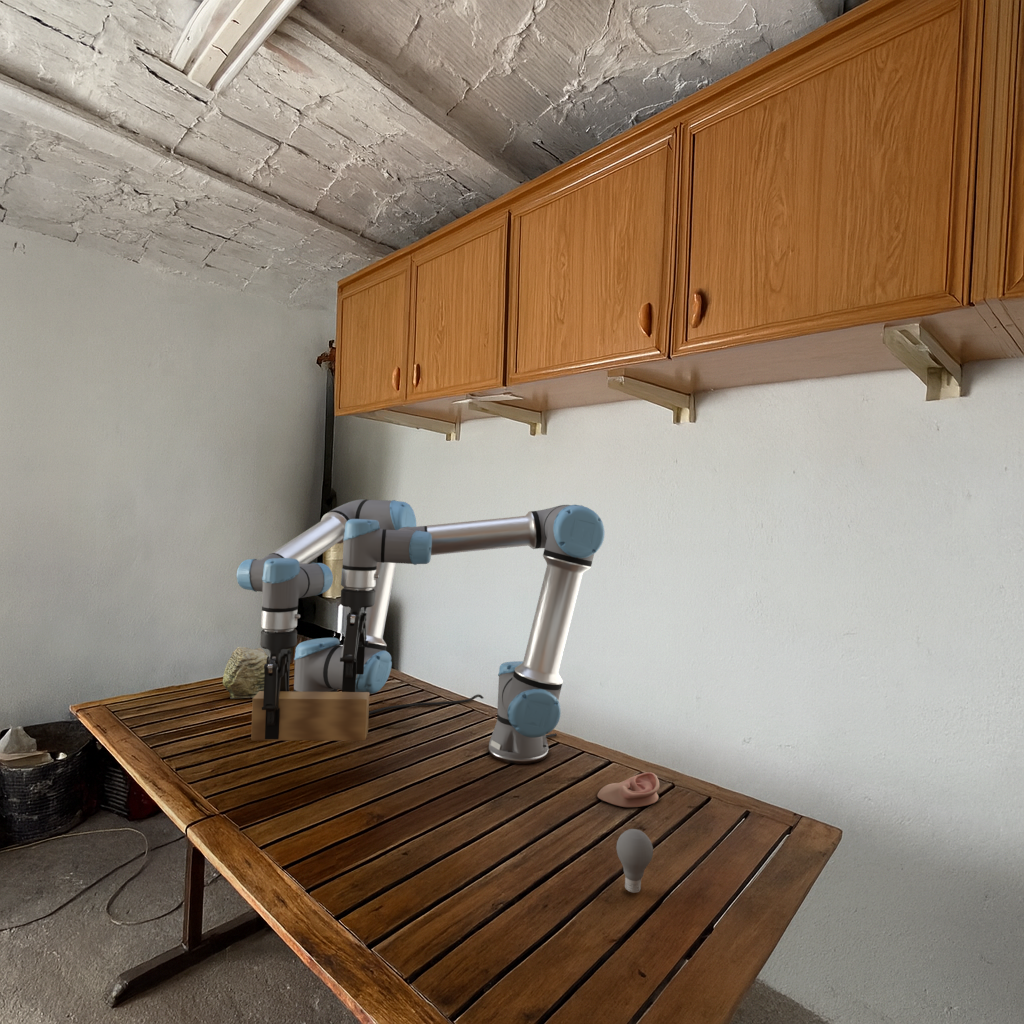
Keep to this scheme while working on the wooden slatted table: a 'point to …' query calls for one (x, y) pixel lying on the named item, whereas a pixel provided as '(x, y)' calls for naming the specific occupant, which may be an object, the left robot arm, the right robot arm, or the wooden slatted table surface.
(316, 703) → the bar
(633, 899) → the wooden slatted table surface
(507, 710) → the right robot arm
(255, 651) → the fossil
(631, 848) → the light bulb
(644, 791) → the anatomical model
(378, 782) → the wooden slatted table surface
